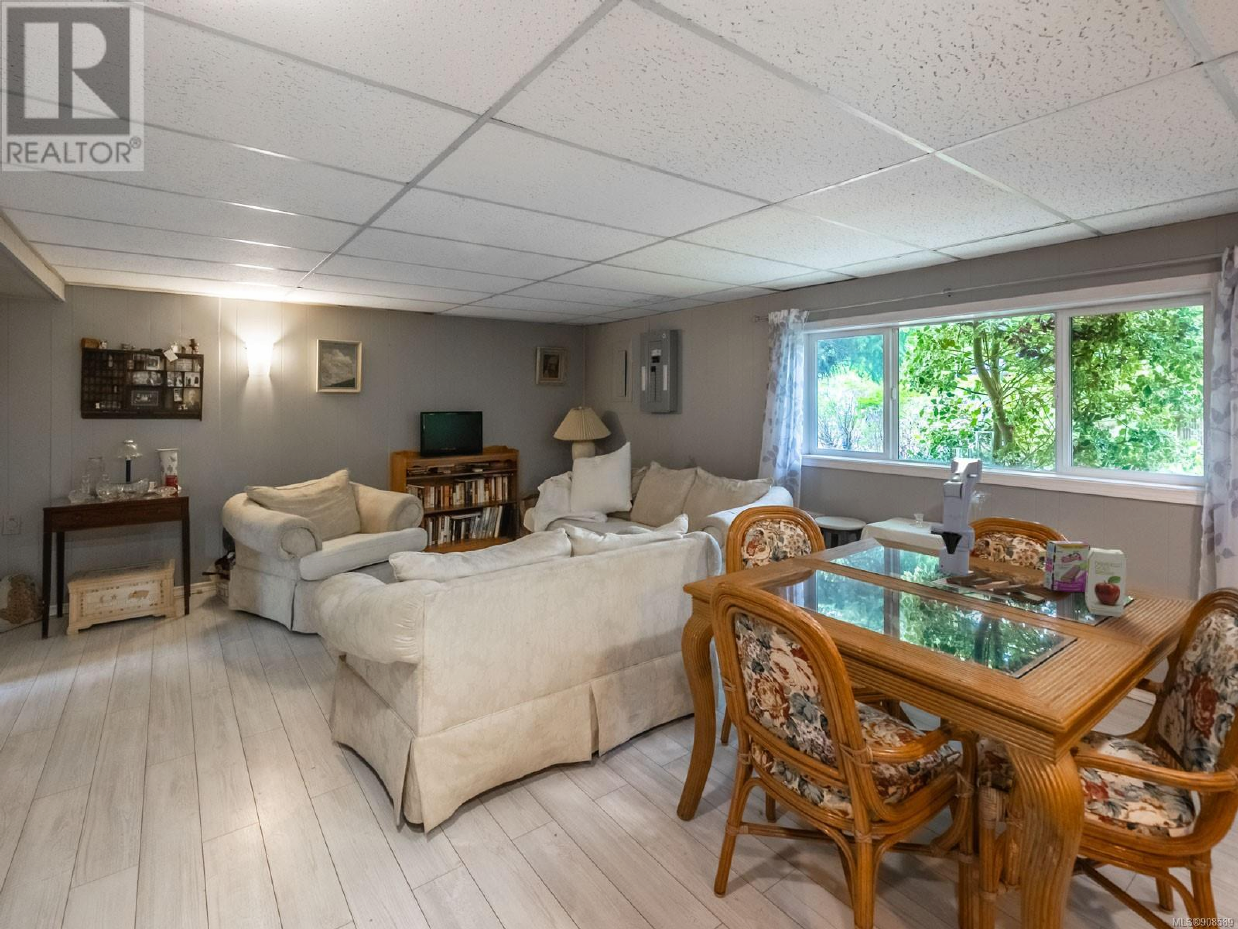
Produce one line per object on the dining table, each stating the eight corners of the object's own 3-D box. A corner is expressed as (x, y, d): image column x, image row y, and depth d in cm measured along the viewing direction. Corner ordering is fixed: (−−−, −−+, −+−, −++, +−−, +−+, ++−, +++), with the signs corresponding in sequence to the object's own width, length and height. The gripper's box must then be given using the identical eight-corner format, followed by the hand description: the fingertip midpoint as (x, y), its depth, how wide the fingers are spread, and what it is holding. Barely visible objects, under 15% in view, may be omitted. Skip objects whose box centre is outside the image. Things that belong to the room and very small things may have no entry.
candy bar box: (1052, 592, 199) (1054, 543, 198) (1043, 587, 204) (1045, 540, 203) (1088, 592, 198) (1091, 544, 197) (1078, 588, 203) (1081, 540, 202)
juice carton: (1083, 607, 184) (1086, 546, 182) (1119, 611, 180) (1123, 549, 178) (1087, 614, 178) (1091, 551, 176) (1124, 619, 173) (1129, 554, 172)
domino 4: (992, 589, 196) (1018, 586, 190) (1000, 586, 199) (1025, 584, 193) (994, 594, 196) (1020, 591, 190) (1001, 591, 199) (1027, 589, 192)
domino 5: (1009, 592, 192) (1037, 600, 186) (1017, 590, 195) (1045, 598, 188) (1009, 597, 192) (1037, 605, 186) (1016, 594, 195) (1044, 602, 188)
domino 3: (976, 585, 201) (1000, 583, 194) (983, 583, 204) (1008, 580, 197) (977, 590, 201) (1002, 588, 194) (984, 587, 203) (1009, 585, 197)
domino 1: (945, 578, 209) (968, 576, 203) (953, 576, 212) (975, 573, 205) (946, 583, 209) (969, 580, 202) (954, 580, 212) (977, 578, 205)
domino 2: (960, 581, 205) (984, 579, 199) (967, 579, 208) (991, 577, 201) (961, 586, 205) (985, 584, 198) (969, 584, 208) (992, 582, 201)
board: (930, 583, 211) (930, 581, 211) (947, 578, 217) (947, 576, 217) (1007, 601, 190) (1008, 600, 190) (1024, 595, 196) (1024, 594, 196)
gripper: (926, 514, 215) (924, 551, 216) (967, 520, 203) (966, 559, 204) (937, 512, 219) (935, 548, 220) (978, 517, 207) (976, 556, 208)
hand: (951, 553), depth 212 cm, fingers closed
